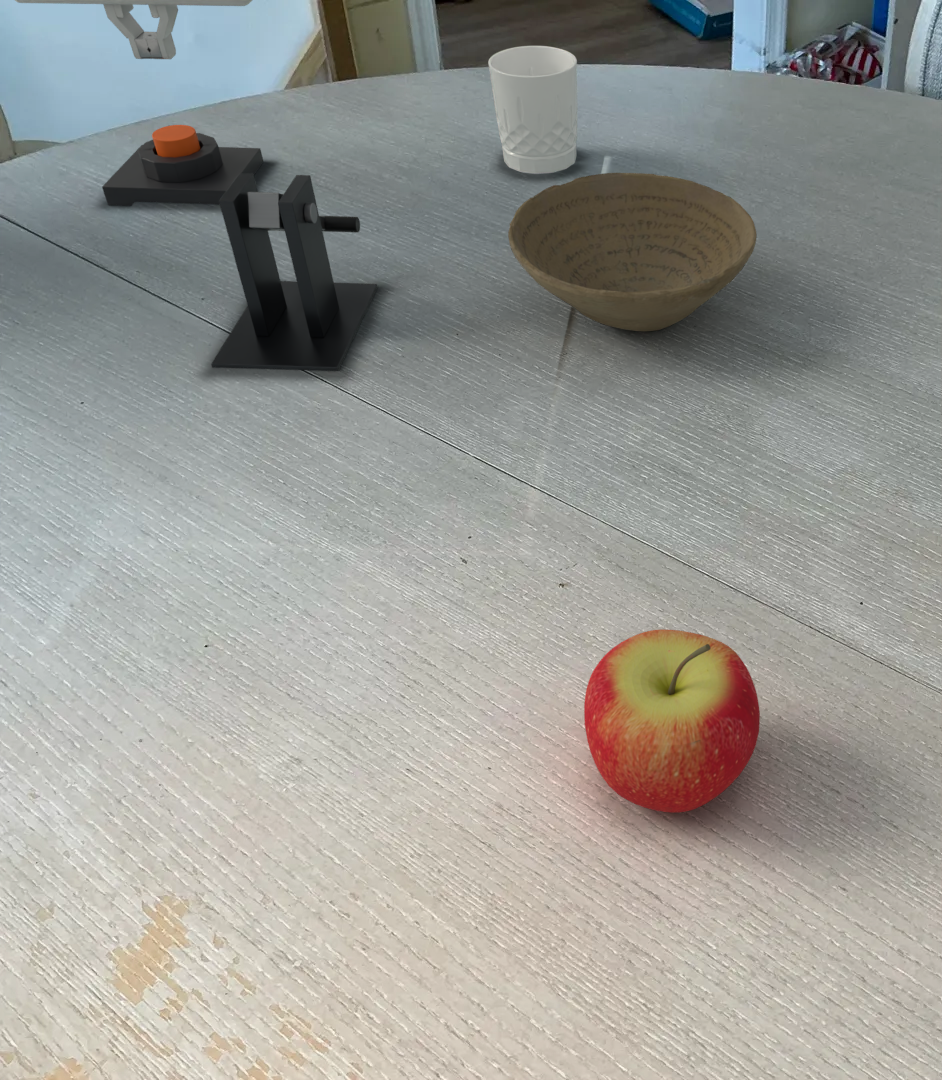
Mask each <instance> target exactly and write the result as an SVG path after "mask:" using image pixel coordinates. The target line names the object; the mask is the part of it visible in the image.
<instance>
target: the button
mask: <svg viewBox="0 0 942 1080" xmlns="http://www.w3.org/2000/svg"><path fill="white" fill-rule="evenodd" d="M196 133H197V131H196V129H195V128H194V127H193V126H191V125H186V124H172V125H166V126H163V127H159V128H157V129H156V130H154V131H153V132H152V133H151V137H152V140H153V141H154V144H155V148H156V151H157V154H158V156H161V157H181V156H187V155H191V154H193V153H195V152H198V151H199V150H200V145H199V141H198V138H197V134H196Z"/></svg>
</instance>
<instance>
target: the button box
mask: <svg viewBox="0 0 942 1080" xmlns="http://www.w3.org/2000/svg"><path fill="white" fill-rule="evenodd" d="M196 134H197V138H198V141H199V145H200V150H199V151H198V152H195V153H193V154H191V155H187V156H181V157H161V156H158V154H157V151H156V148H155V144H154V141H153V139H151V140H147V141H146V142H144V143H143V144H141V145H140V146H139V147H138V148H137V149H136V150H135V151H134V152H133V153H132V155H130V157H128V159H127V160H126V161H125V162H124V163H123V164H122V165H121V166H120V167H119V168H118V170H116V172H114V173H113V175H112V176H111V177H109V179H108V180H107V181H106V182H105V183H104V184H103V185H102V186H101V188H102V191H103V194H104V197H105V200H106V203H107V206H111V207H113V206H114V207H116V206H117V207H132V206H133V205H134V204H135V203H157V204H160V203H161V204H166V203H167V204H189V205H190V204H193V205H196V204H197V205H220V204H219V200H220V199H221V197H222V196H223V195H224V193H225V192H226V191H227V189H228V188H229V187H230V185H231V184H232V183H233V181H234V180H235V179H236V178H237V176H238V175H239V174H240V173H248V174H254V175H256V173H257V172H258V171H259V170H260V167H262V165H263V164H264V162H265V161H264V158H263V154H262V153H263V152H262V149H261V147H233V146H232V147H231V146H219V144H218V142H217V140H216V139H215V137H213V136H211V135H207V134H204V133H201V132H196Z"/></svg>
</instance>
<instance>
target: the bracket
mask: <svg viewBox="0 0 942 1080" xmlns="http://www.w3.org/2000/svg"><path fill="white" fill-rule="evenodd" d="M248 192H259V190H258V186H257V182H256V179H255V174H248V173H240V174H239V175H238V176H237V178H236V179H235V180H234V181H233V183H232V184H231V185H230V187H229V188H228V189H227V191H226V192H225V193H224V195H223V196H222V197H221V199H220V200H219V204H218V205H219V208H220V211H221V214H222V218H223V221H224V225H225V229H226V232H227V236H228V240H229V243H230V246H231V251H232V254H233V259H234V262H235V265H236V269H237V271H238V276H239V279H240V283H241V287H242V291H243V295H244V297H245V302H246V304H247V306H246V307H245V309H244V311H243V313H242V314H241V316H240V317H239V318H238V321H237V322H236V323H235V325H234V326H233V329H232V330H231V332H230V333H229V334H228V336H227V338H226V340H225V341H224V343H223V345H222V346H221V347H220V349H219V351H218V352H217V353H216V355H215V357H214V359H212V362H211V368H213V369H215V368H216V369H219V368H220V369H249V370H251V369H253V370H282V371H283V370H285V371H286V370H287V371H315V372H317V371H318V372H319V371H321V372H339V370H340V368H341V366H342V364H343V363H344V360H345V358H346V356H347V353H348V352H349V349H350V347H351V345H352V343H353V342H354V339H355V337H356V335H357V333H358V330H359V328H360V326H361V323H362V322H363V320H364V317H365V315H366V314H367V312H368V310H369V307H370V305H371V303H372V301H373V298H374V297H375V295H376V292H377V290H378V288H379V285H378V284H377V283H364V282H363V283H362V282H359V283H358V282H334V277H333V274H332V273H333V272H332V268H331V264H330V259H329V254H328V251H327V246H326V245H327V244H326V241H325V237H324V232H323V231H322V227H321V222H320V218H319V216H320V213H319V209H318V204H317V200H316V196H315V191H314V186H313V182H312V177H311V175H309V174H296V175H295V177H294V178H293V179H292V181H291V182H290V184H289V185H288V187H287V188H286V190H285V191H284V192H283V193H282V194H283V196H282V197H281V199H280V200H279V202H278V205H279V209H280V214H281V218H282V222H283V226H284V230H285V231H284V234H285V239H286V242H287V247H288V250H289V255H290V260H291V263H292V267H293V271H294V276H295V280H296V281H294V280H293V281H292V280H290V281H289V280H281V278H280V274H279V270H278V265H277V262H276V257H275V254H274V250H273V245H272V241H271V238H270V233H269V231H264V230H259V229H254V228H250V227H249V217H248V194H247V193H248Z"/></svg>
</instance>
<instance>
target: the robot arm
mask: <svg viewBox="0 0 942 1080" xmlns="http://www.w3.org/2000/svg"><path fill="white" fill-rule="evenodd" d="M14 1H15V2H17V3H18V4H57V5H58V4H60V5H63V4H65V5H103V8H104V12H105V14H106V17H107V19H108V20H109V21H110V22H111V23H112V25H114V26H115V28H116V29H117V30H118V31H119V32H120V33H121V34H122V35H123V37H125V38H126V39H128V41H129V45H130V48H131V51H132V54H133V57H134V58H135V59H137V60H172V59H173V58H175V56H176V54H177V48H176V46H175V41H174V38H173V35H172V33H173V31H174V27H175V24H176V19H177V16H178V13H179V12H178V11H179V7H178V6H199V7H202V6H203V7H204V6H205V7H206V6H209V7H245V6H248V5H249V4H250V3H252V2H253V0H14ZM134 5H135V6H136V5H137V6H148V9H149V11H150V15H151V17H152V18H153V19H159V20H158V25H157V29H156V31H145V30H144V28H143V27H142V26H141V25H140V24H139V22H137V20H136V19H135V18H134V16H133V15H132V14H131V13H130V12H131V11H133V10H134Z"/></svg>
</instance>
